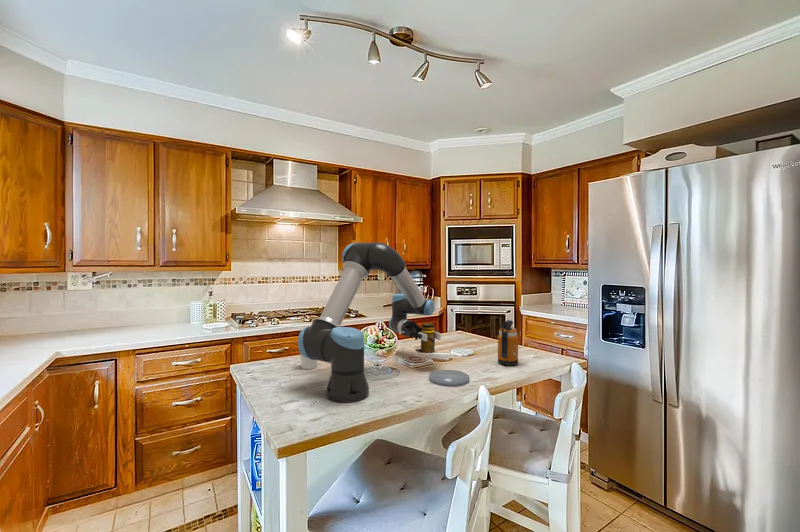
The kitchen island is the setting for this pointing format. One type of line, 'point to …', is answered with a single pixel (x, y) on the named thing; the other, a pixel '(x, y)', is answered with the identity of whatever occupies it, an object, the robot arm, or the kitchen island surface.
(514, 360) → the canister
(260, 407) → the kitchen island surface
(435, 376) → the trivet
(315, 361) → the white cup
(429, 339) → the condiment
